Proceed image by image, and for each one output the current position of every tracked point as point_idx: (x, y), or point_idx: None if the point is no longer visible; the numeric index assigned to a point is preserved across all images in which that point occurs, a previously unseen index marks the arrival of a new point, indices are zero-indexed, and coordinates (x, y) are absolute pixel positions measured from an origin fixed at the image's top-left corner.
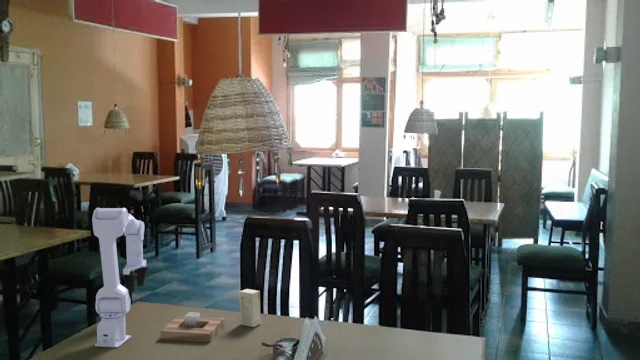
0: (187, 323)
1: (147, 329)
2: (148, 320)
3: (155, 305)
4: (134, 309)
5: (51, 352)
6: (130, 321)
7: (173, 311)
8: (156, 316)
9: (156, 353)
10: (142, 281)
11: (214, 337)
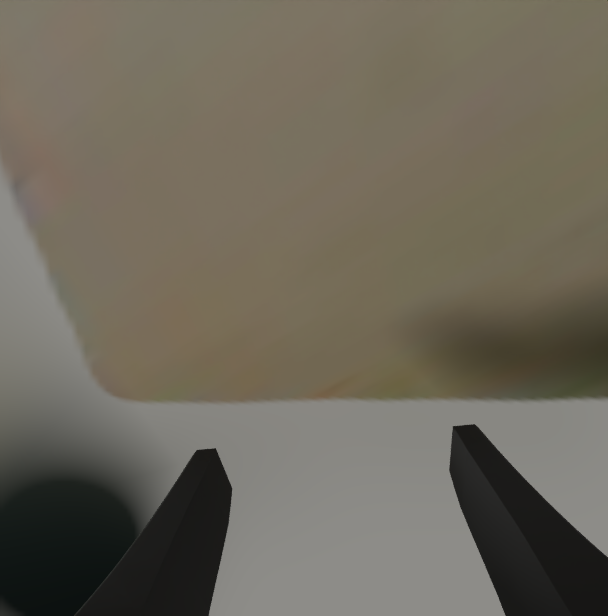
0: None
1: (602, 37)
2: (385, 168)
3: (97, 301)
4: (222, 370)
5: None
6: (426, 277)
7: (123, 83)
8: (286, 159)
9: None
10: (197, 506)
11: None
